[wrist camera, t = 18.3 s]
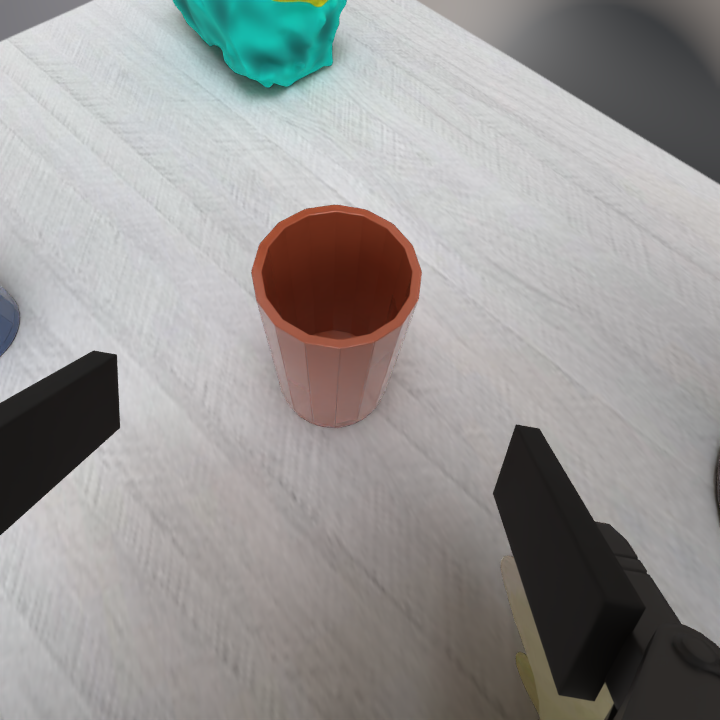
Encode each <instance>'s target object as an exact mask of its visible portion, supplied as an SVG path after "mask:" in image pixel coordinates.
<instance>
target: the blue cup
mask: <svg viewBox="0 0 720 720" xmlns="http://www.w3.org/2000/svg"><path fill="white" fill-rule="evenodd" d="M19 321H20V315H19V309H18V306H17V304H16V302H15V300H14V299H13V297H12V296H11V295H10V294H9V293H8V292H7V291H6V290H5V289H4V288H3V287H1V286H0V356H1V355H2V354H3V353H4V352H5V351H6V350H7V348H8V347H9V346H10V344H11V343H12V341H13V340H14V338H15V336H16V333H17V331H18V327H19Z"/></svg>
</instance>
